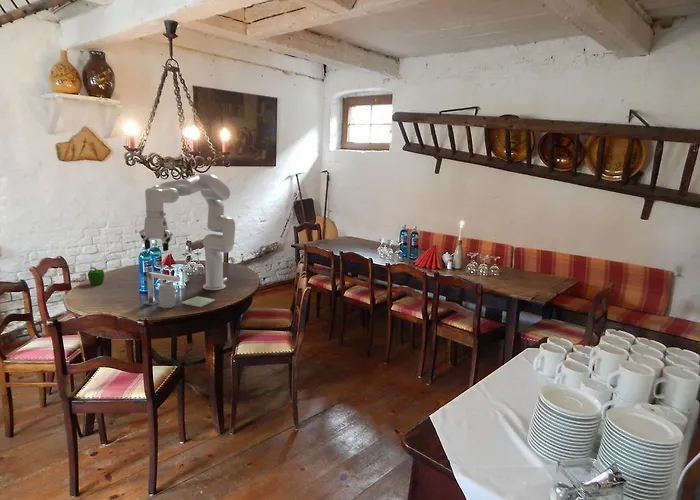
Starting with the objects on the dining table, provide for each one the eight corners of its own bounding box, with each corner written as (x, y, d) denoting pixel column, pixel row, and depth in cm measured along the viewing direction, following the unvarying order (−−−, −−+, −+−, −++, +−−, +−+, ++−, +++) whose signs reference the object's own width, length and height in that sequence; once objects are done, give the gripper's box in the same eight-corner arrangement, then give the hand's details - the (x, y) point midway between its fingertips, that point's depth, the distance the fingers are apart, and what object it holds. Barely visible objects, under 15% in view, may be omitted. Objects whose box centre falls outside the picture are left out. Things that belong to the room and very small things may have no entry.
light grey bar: (144, 276, 228) (144, 272, 228) (150, 275, 232) (150, 271, 231) (176, 282, 222) (175, 278, 221) (181, 280, 225) (181, 276, 224)
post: (151, 301, 236) (150, 275, 233) (159, 302, 234) (157, 276, 231) (144, 304, 231) (142, 277, 228) (151, 305, 229) (150, 279, 226)
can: (177, 304, 233) (176, 282, 231) (172, 309, 226) (171, 286, 223) (162, 303, 233) (161, 281, 230) (157, 308, 226) (156, 285, 223)
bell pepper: (108, 282, 264) (107, 265, 262) (99, 286, 256) (98, 269, 254) (94, 281, 264) (93, 264, 262) (85, 285, 256) (84, 268, 254)
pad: (196, 297, 245) (196, 296, 245) (215, 300, 241) (215, 299, 241) (181, 303, 234) (181, 302, 234) (200, 307, 230) (200, 306, 230)
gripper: (176, 214, 215) (177, 249, 219) (143, 212, 219) (145, 246, 222) (166, 217, 208) (168, 253, 212) (133, 214, 211) (135, 249, 215)
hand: (156, 249), depth 217 cm, fingers open, 9 cm apart
